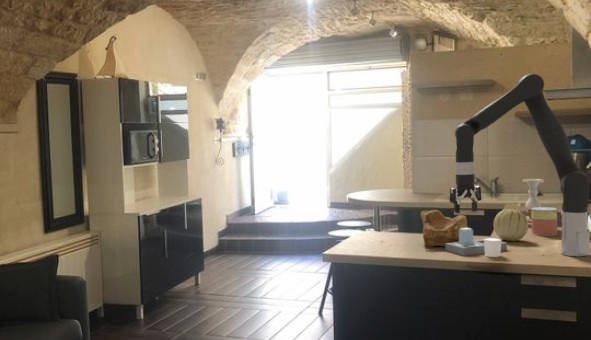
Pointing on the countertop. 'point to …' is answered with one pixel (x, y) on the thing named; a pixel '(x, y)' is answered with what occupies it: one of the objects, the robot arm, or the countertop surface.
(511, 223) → the cantaloupe
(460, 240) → the light blue cylinder
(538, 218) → the canned food
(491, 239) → the shot glass
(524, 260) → the countertop surface
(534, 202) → the candle holder
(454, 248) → the socket panel
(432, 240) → the rough brown rock
